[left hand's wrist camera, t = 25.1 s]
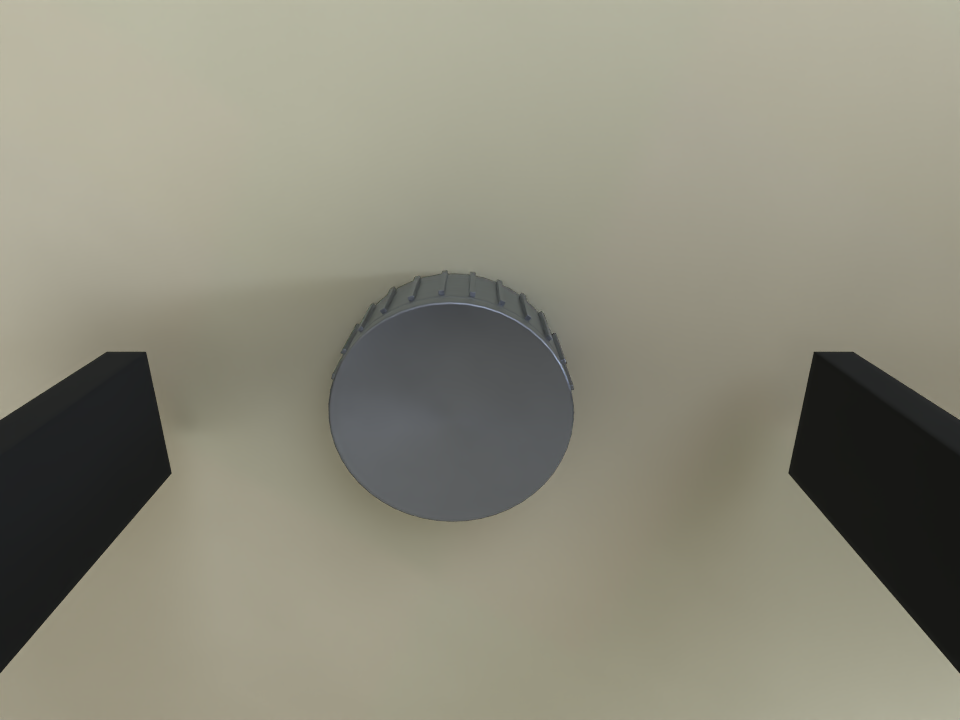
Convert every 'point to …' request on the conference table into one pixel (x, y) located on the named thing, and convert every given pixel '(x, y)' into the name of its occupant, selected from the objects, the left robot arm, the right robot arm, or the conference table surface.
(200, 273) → the conference table surface
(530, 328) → the lid
